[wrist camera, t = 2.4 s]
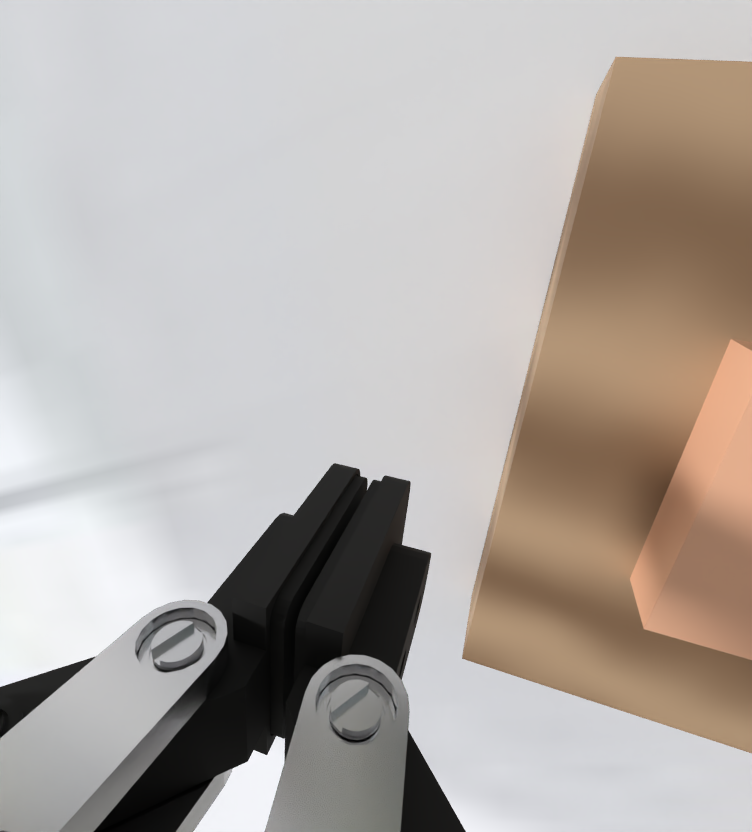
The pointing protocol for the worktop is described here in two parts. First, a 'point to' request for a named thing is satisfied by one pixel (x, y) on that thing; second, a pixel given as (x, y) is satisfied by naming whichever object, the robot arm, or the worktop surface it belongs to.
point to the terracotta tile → (706, 525)
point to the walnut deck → (625, 399)
